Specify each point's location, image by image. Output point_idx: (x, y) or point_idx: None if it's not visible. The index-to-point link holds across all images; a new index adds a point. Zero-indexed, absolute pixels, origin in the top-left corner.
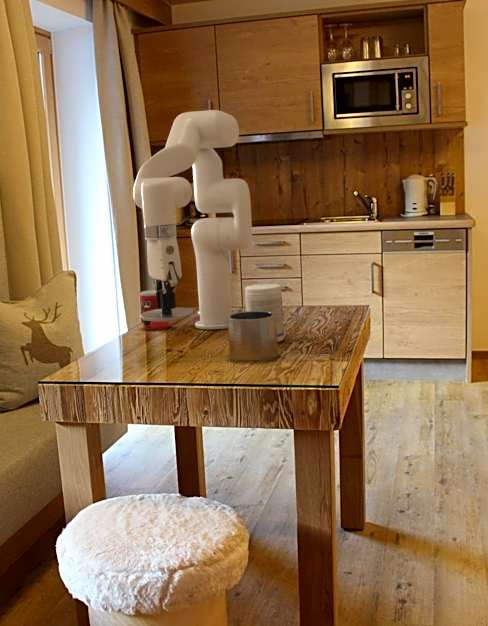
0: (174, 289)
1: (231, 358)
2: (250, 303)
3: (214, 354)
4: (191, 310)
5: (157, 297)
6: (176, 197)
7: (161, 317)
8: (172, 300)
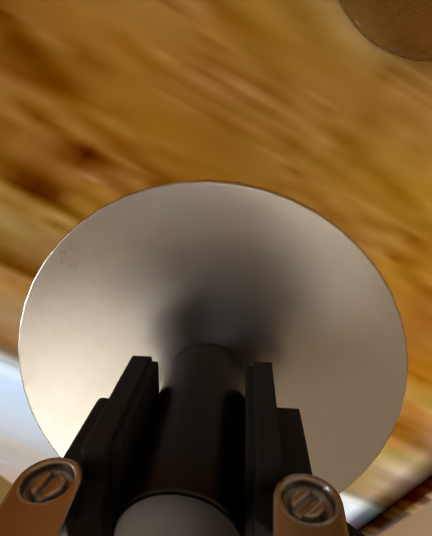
0: (344, 516)
1: (425, 59)
2: None
3: (242, 59)
4: (267, 199)
5: None
6: None
7: (323, 467)
8: (304, 439)
